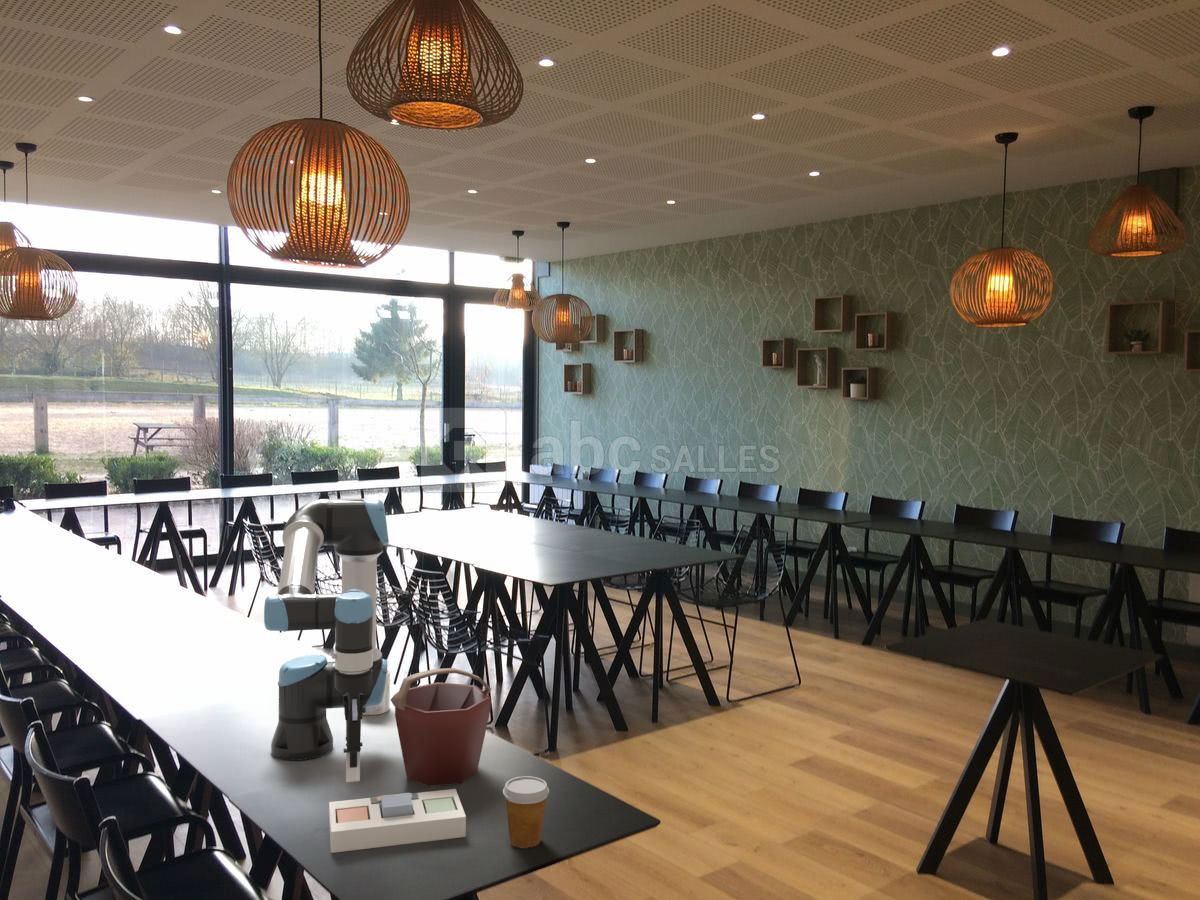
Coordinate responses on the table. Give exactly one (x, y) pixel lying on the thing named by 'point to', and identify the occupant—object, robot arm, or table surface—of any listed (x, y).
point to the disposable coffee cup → (525, 809)
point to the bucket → (441, 727)
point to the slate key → (396, 805)
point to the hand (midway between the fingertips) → (352, 780)
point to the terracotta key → (352, 815)
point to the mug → (384, 703)
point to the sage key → (439, 805)
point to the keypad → (395, 823)
